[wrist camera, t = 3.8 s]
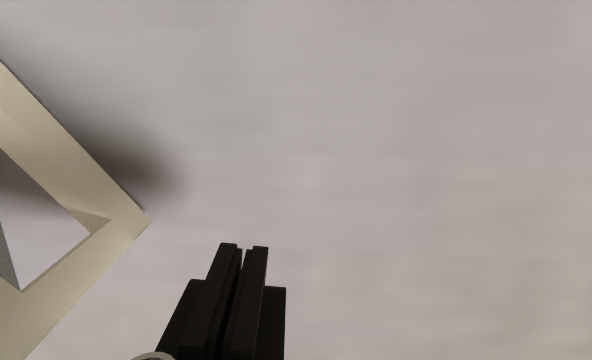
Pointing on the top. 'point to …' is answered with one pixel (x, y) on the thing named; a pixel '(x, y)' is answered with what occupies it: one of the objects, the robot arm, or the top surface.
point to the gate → (76, 200)
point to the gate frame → (6, 263)
